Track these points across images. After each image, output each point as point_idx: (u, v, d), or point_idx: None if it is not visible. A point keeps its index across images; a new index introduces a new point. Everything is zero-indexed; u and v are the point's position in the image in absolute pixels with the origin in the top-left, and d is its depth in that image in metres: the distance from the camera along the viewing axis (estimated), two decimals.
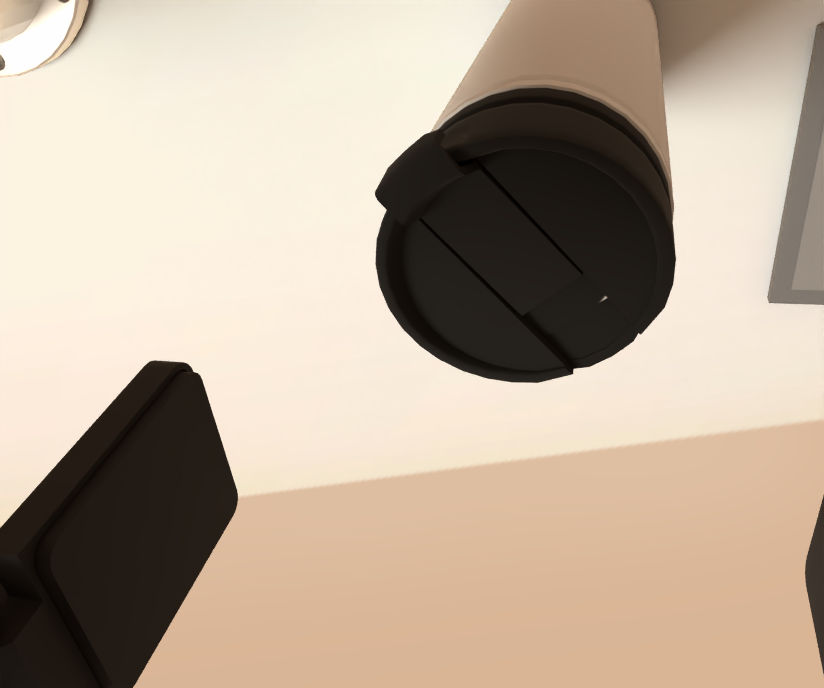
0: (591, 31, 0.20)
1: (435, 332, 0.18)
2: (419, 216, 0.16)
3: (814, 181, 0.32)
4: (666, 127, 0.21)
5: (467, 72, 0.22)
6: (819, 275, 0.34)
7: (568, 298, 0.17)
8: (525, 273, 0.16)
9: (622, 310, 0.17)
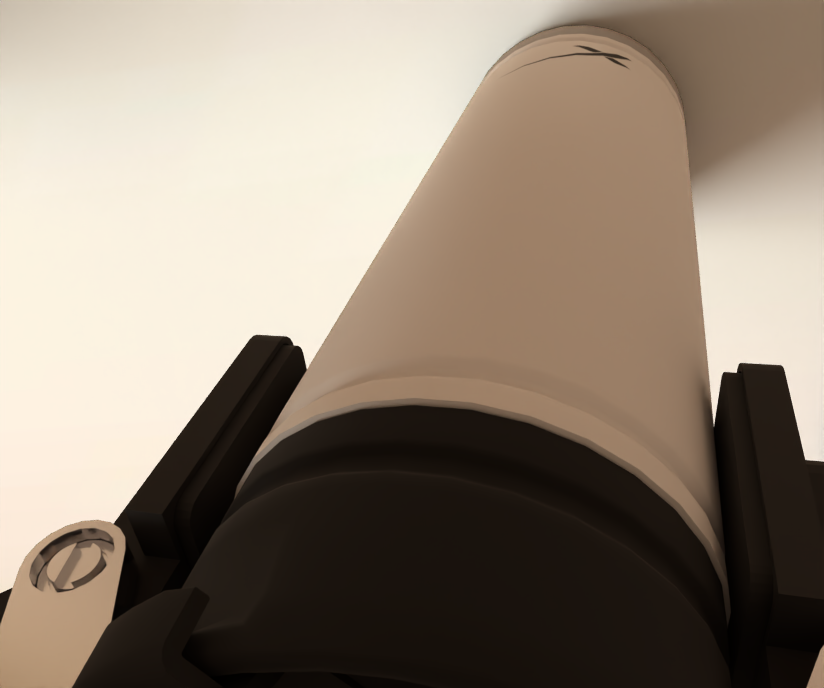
0: (580, 204, 0.12)
1: None
2: None
3: None
4: (707, 361, 0.12)
5: (378, 253, 0.13)
6: None
7: None
8: None
9: None
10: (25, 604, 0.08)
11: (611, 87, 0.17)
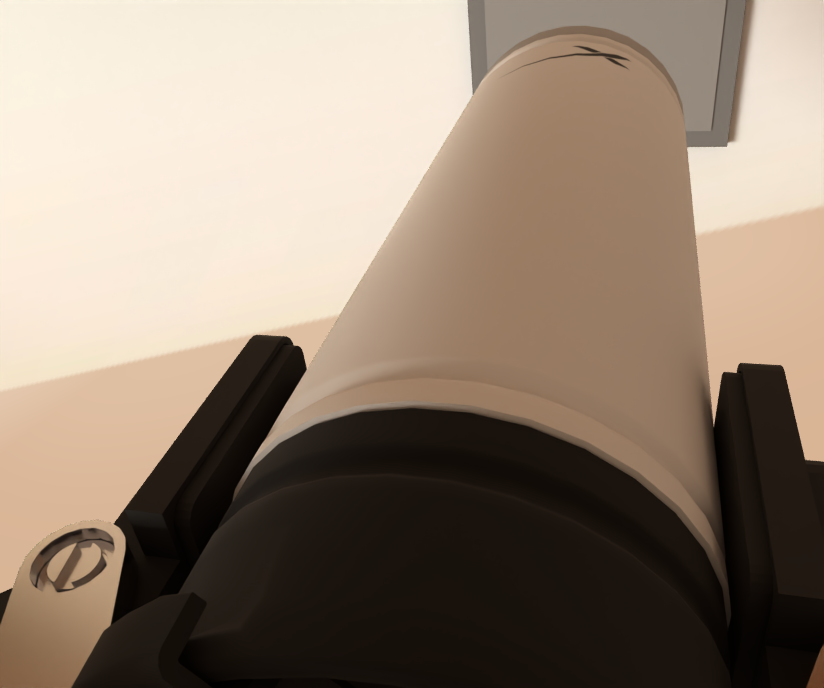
0: (580, 205, 0.12)
1: None
2: None
3: (487, 25, 0.36)
4: (707, 362, 0.12)
5: (377, 254, 0.13)
6: None
7: None
8: None
9: None
10: (25, 604, 0.08)
11: (610, 88, 0.17)
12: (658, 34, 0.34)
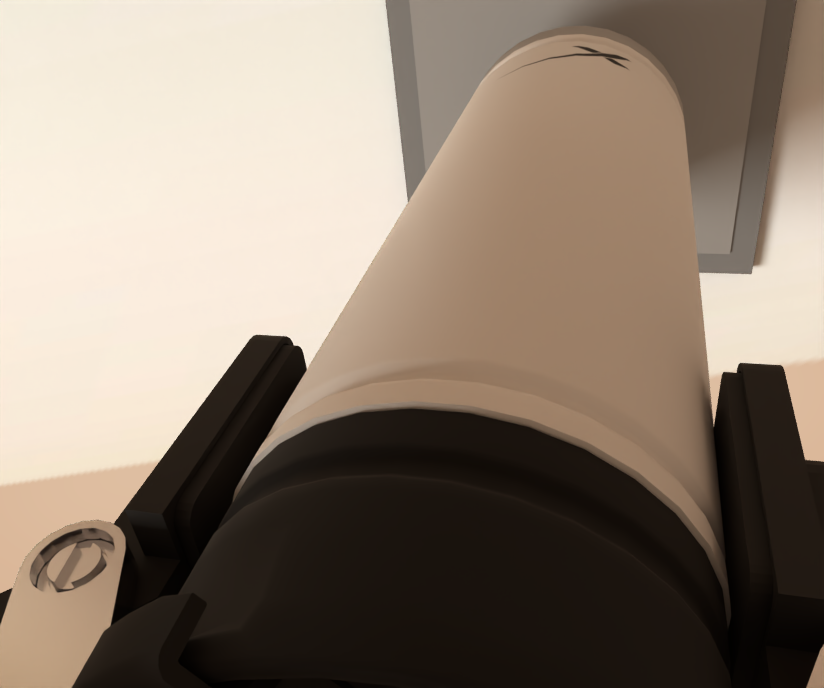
0: (580, 206, 0.12)
1: None
2: None
3: (422, 109, 0.26)
4: (707, 363, 0.12)
5: (377, 254, 0.13)
6: None
7: None
8: None
9: None
10: (25, 604, 0.08)
11: (610, 88, 0.17)
12: None
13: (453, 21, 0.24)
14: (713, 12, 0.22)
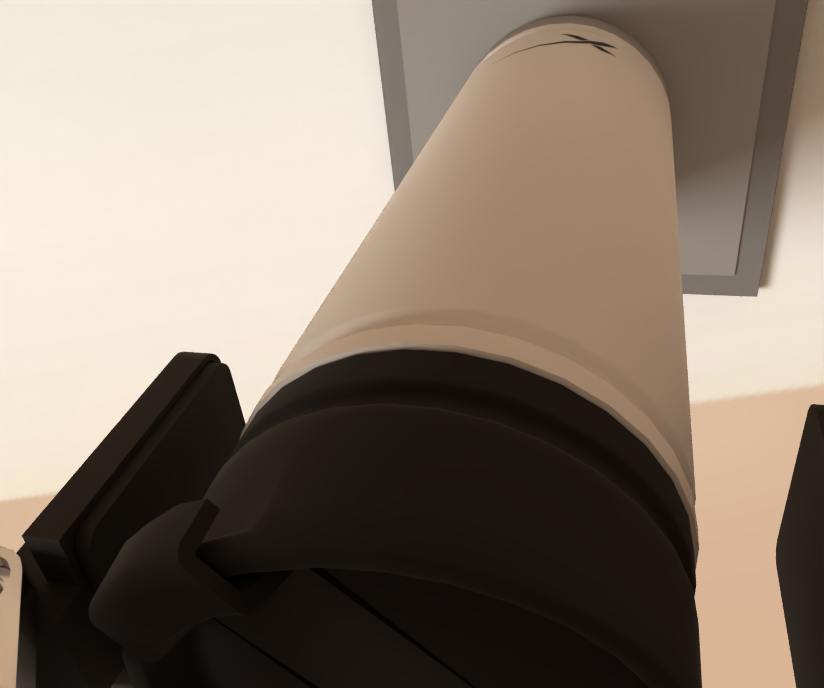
0: (563, 177, 0.13)
1: None
2: None
3: (412, 124, 0.25)
4: (683, 326, 0.13)
5: (373, 226, 0.14)
6: None
7: None
8: None
9: None
10: None
11: (596, 73, 0.18)
12: None
13: (444, 33, 0.23)
14: (717, 24, 0.21)
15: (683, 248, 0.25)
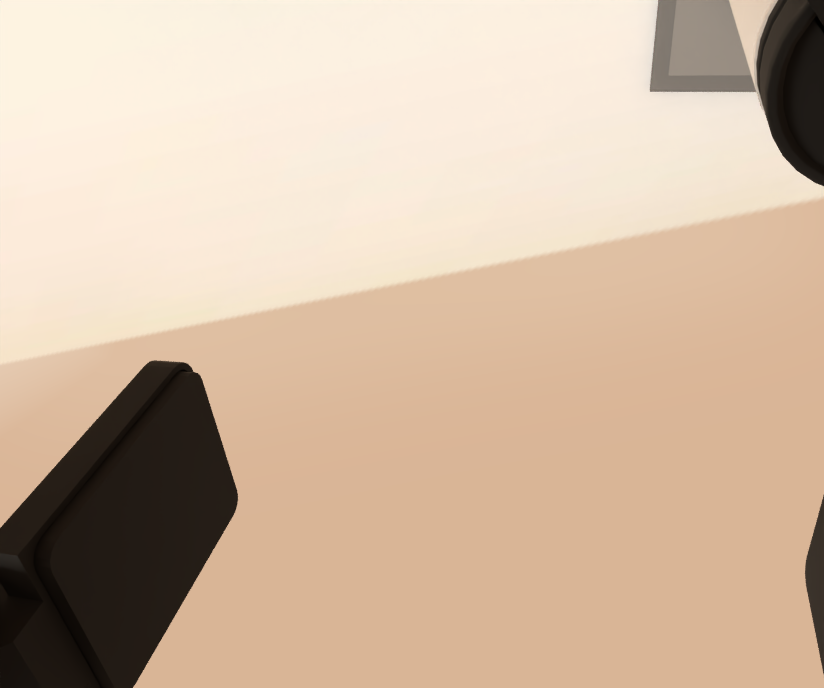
0: None
1: (797, 145, 0.20)
2: None
3: None
4: None
5: None
6: (692, 60, 0.37)
7: None
8: None
9: None
10: None
11: None
12: None
13: None
14: None
15: None
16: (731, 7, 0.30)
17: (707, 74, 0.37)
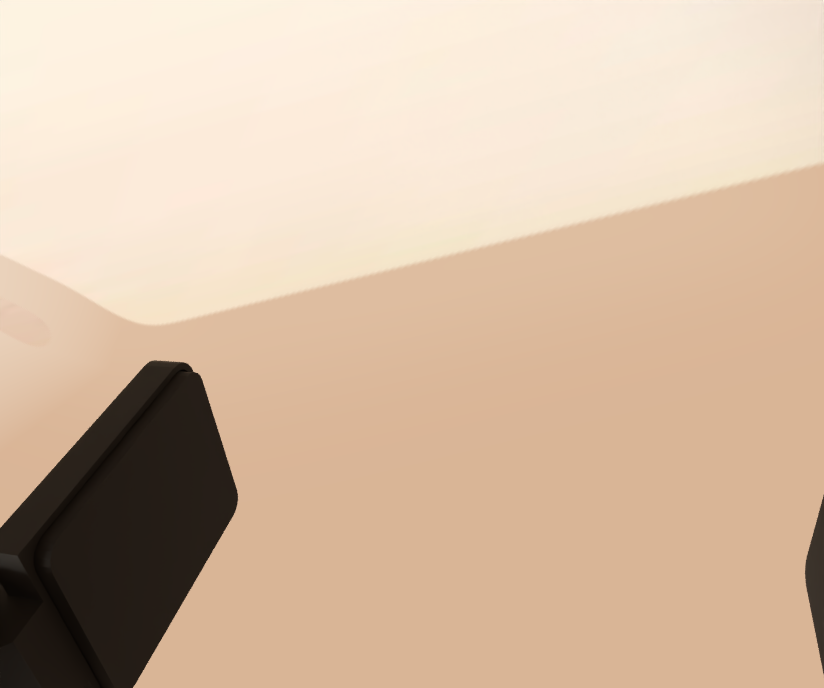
0: None
1: None
2: None
3: None
4: None
5: None
6: None
7: None
8: None
9: None
10: None
11: None
12: None
13: None
14: None
15: None
16: None
17: None
